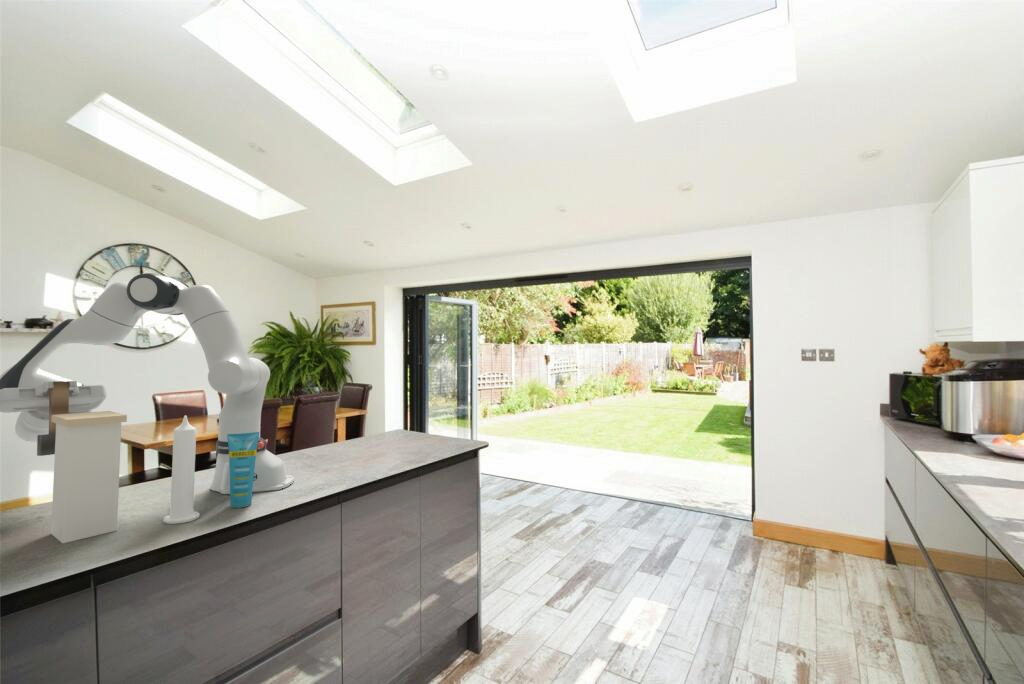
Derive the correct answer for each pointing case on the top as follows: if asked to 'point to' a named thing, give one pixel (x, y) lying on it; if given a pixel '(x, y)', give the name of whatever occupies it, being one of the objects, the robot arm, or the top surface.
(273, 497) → the top surface
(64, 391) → the mallet
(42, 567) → the top surface
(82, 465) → the shelf post
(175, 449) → the candle
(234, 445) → the tube
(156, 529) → the top surface
